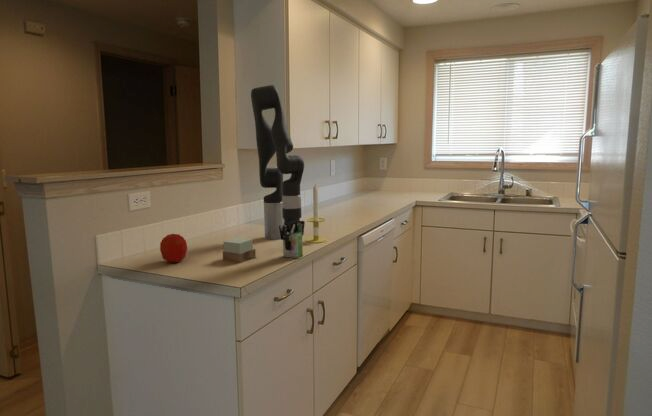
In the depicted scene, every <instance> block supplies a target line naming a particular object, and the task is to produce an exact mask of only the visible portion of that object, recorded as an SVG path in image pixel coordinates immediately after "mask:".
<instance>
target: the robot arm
mask: <svg viewBox="0 0 652 416" xmlns="http://www.w3.org/2000/svg"><path fill="white" fill-rule="evenodd" d="M250 99H251V107H252V111H253V117H254V126H255V139H256V148H257V155H258V169H259V170H258V172H259V175H258V176H259V184H260V186H261V187H262V188H264V189H268V188H269V189H273V188H275V190H274V191H273V192H271V193H268V194H266V195H264V196H263V222H264V227H263V228H264V238H265V240H266V239H267V240H279V239H280V240H281V241H283V240H285V248H286V250H291V241H290V240H291V236H292V235H293V232H294V231H295V232H296V231H297V232H299V224H302V237H303V236H304V233H305V225H306V224H305V223H306V222H305V220H300V219H301V218H302V196H301V182H302V179H303V178H302V177H303V174H304V170H305V162H304V159H303V157H301V156H300V155H297V154H296V155H288V154H289V153H290V152H292V151H293V149H294V144H293V141H292V138H291V135H290V133H289V131H288V128H287V124H286V117H285V114H284V113H285V112H284V109H283V104H282V99H281V96H280V92H279V90H278V88H277V87H276V86H275V85H273V84H271V85H270V84H269V85H265V86H259V87H258V86H257V87H253V88H252V90H251V91H250ZM272 109H274V119H273V123H272V125H271V124H270V123H269V122H268V120H267V119H266V118H265V117H264V115H263V111H266V110H272ZM274 155H276V156H275V157H276V167H267V166H268V164H269V162H270V161H271V160H272V158H273V157H274ZM290 174H291V175H290ZM284 175H290V177H289V178H288V179H286V180H284ZM287 231H288V232H290V233H287ZM283 235H284V236H283ZM287 235H289V236H288V237H287Z"/></svg>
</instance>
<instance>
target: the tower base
mask: <svg viewBox="0 0 652 416" xmlns="http://www.w3.org/2000/svg"><path fill="white" fill-rule="evenodd" d="M256 257H257V256H256V248H253V249H252V250H249V251H246V252H243V253H240V254H239V253H232V252H225V251H224V250H222V261H226V262H231V263H237V264H242V263H244V262H248V261H251V260H254V259H256Z"/></svg>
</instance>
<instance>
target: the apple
mask: <svg viewBox="0 0 652 416" xmlns="http://www.w3.org/2000/svg"><path fill="white" fill-rule="evenodd" d="M159 245H160V246H159V251H160V253H161V256H162V259H163V260H164V261H166V262H168V263H170V264H172V263H180V262H182V261H183V260H184V259H185V258H186V256H187V252H188V244H187V240H186V239H185V237H183V236H182V235H180V234H177V233H171V234H167V235H166V236H164V237H163V238H162V239H161V241H160V244H159Z"/></svg>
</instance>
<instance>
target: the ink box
mask: <svg viewBox="0 0 652 416" xmlns="http://www.w3.org/2000/svg"><path fill="white" fill-rule="evenodd" d="M287 233H290V232H288V231H287ZM283 236H284V235H283ZM288 236H289V235H287V237H288ZM290 241H291V250H286V248H285V240H282V248H283V249H282V250H283V251H282V252H283V257H285V258H294V259H300V258H301V257H303V256H304V255H303V254H304V253H303V251H304V250H303V236H302V224H299V232H297V231H296V232H295V231H294V232H293V235H292V236H291V240H290Z"/></svg>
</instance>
